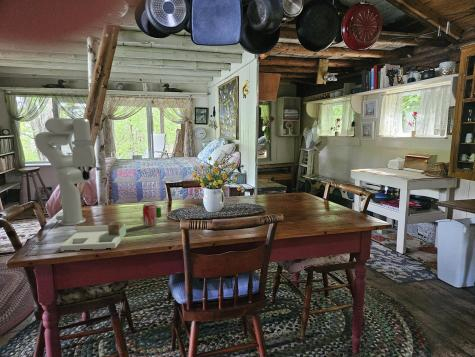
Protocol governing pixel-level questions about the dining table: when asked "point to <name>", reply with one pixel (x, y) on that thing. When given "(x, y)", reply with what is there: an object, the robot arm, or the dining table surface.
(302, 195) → the dining table surface
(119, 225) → the walnut block
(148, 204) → the soda can
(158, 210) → the puzzle toy
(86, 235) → the trap board
